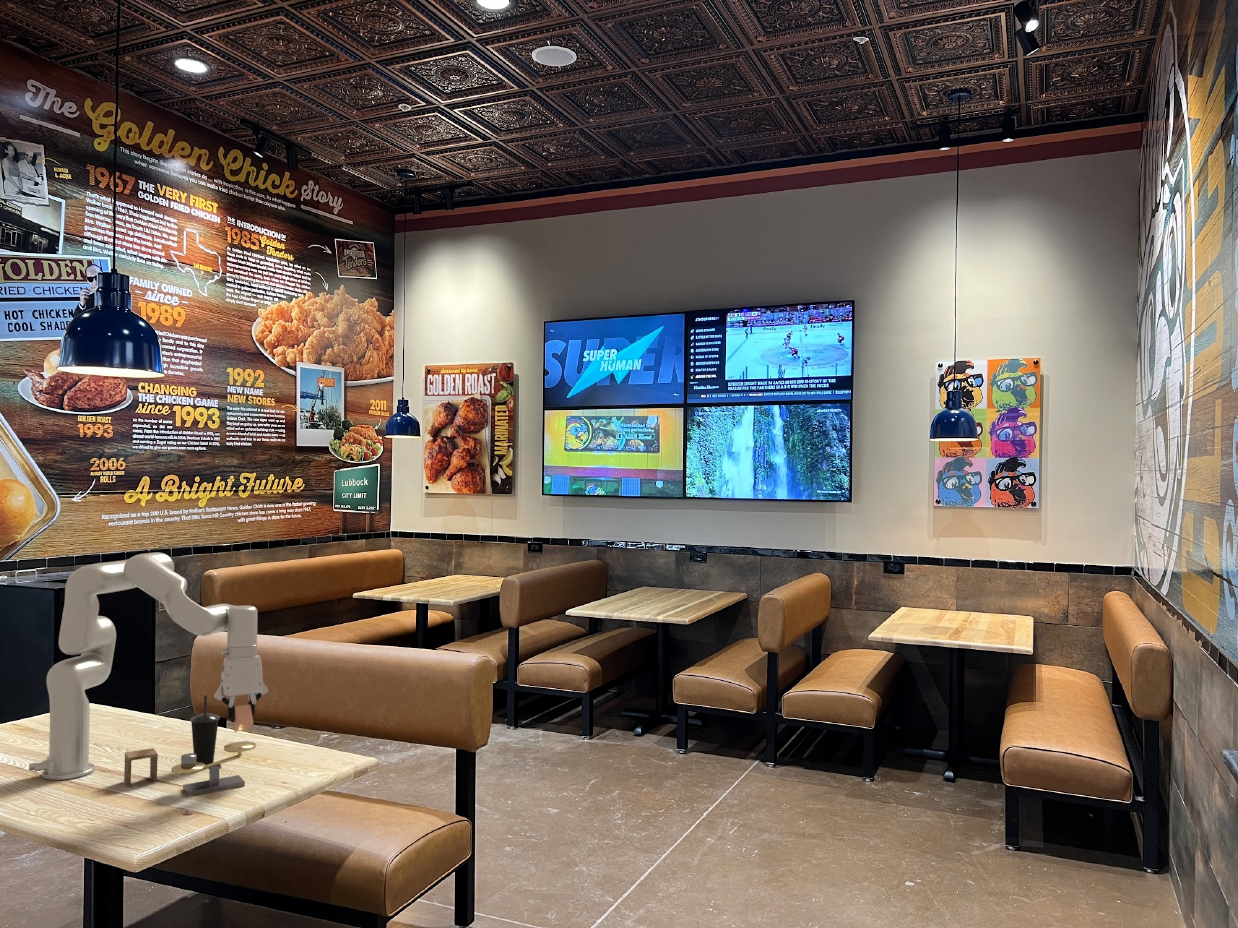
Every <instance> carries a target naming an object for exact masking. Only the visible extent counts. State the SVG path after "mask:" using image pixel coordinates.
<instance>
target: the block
mask: <svg viewBox="0 0 1238 928" xmlns="http://www.w3.org/2000/svg"><path fill="white" fill-rule="evenodd" d="M234 707H235V721H234V722H232V726H233V730H234V731H233V732H235V733H238V732H244V731H250V730H251V729H252V727H253V725H254V717H253V718H252V712H251V706H250V704H249V705H247V704H243V705H241V704H240V705H236V706H235V705H234Z"/></svg>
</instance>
